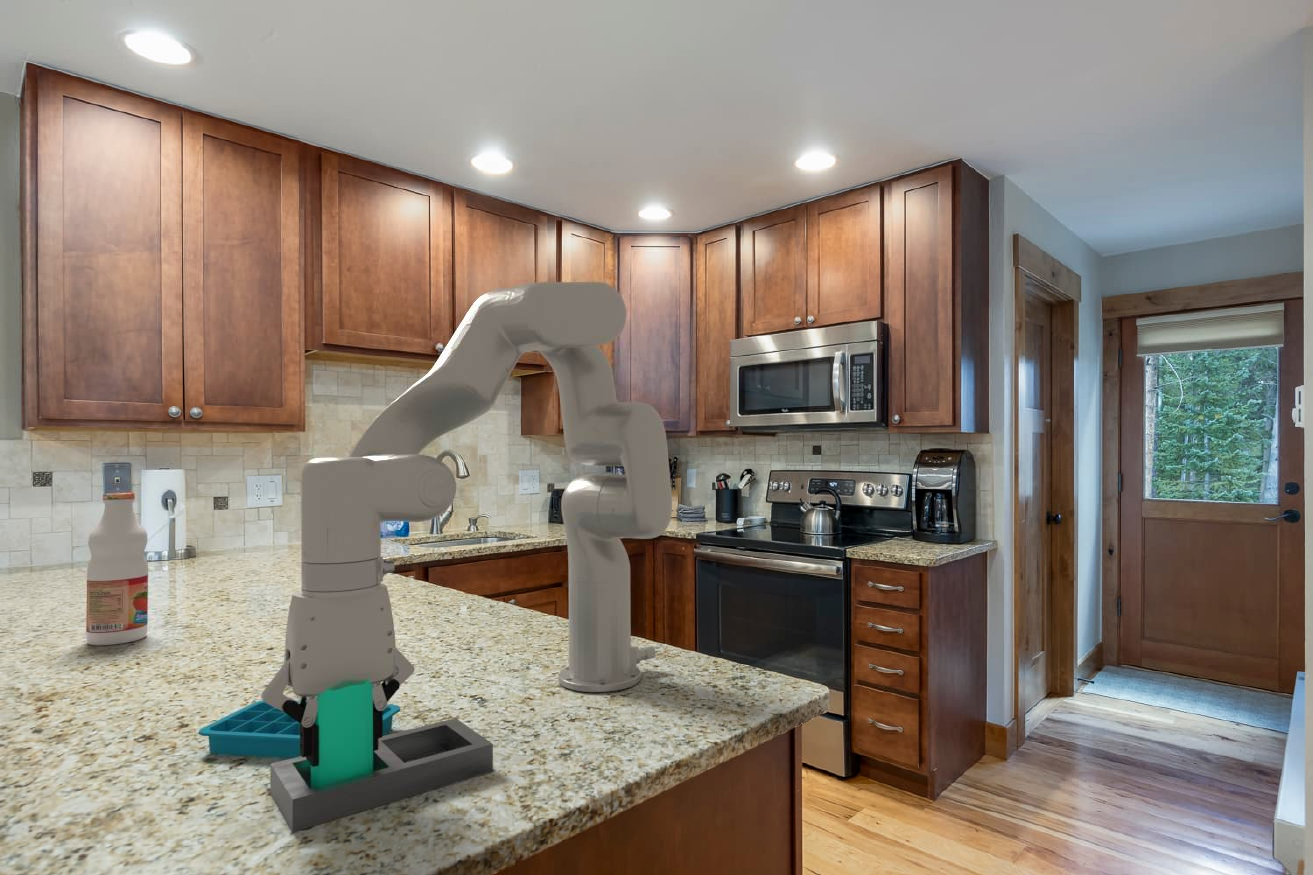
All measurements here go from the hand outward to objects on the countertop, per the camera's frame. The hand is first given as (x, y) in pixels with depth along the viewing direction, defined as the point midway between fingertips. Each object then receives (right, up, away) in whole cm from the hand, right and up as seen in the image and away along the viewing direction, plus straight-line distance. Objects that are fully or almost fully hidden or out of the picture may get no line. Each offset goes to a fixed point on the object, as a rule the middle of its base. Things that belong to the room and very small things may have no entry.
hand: (342, 752), depth 74 cm
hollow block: (+3, -4, +3) cm, 6 cm away
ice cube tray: (-11, -5, +14) cm, 19 cm away
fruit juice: (-71, -7, +63) cm, 95 cm away
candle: (0, -3, 0) cm, 3 cm away
